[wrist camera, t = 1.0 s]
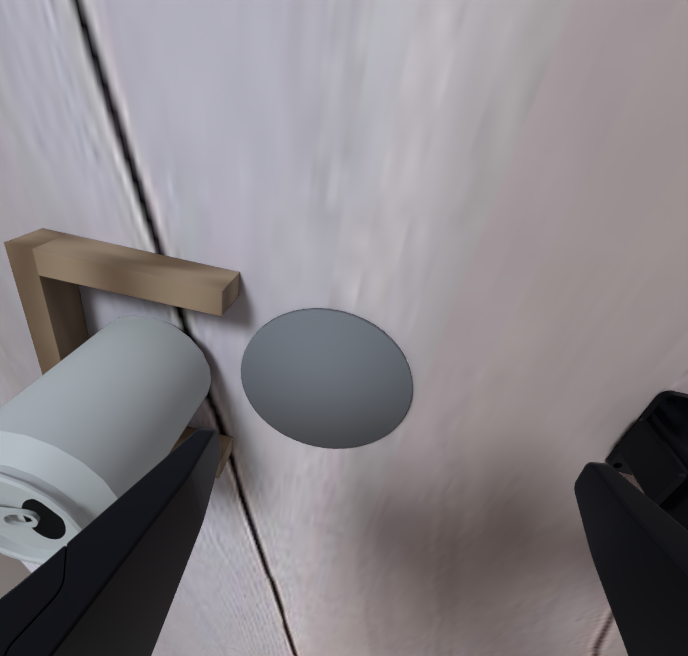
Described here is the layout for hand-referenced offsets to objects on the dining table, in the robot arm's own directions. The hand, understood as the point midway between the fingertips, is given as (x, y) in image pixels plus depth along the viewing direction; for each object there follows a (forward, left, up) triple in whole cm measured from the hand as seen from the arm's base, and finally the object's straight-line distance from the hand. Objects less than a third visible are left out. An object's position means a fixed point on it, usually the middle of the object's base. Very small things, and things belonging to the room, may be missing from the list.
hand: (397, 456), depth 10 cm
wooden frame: (+14, +10, -13) cm, 21 cm away
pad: (+3, +9, -13) cm, 16 cm away
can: (+14, +10, -13) cm, 21 cm away
